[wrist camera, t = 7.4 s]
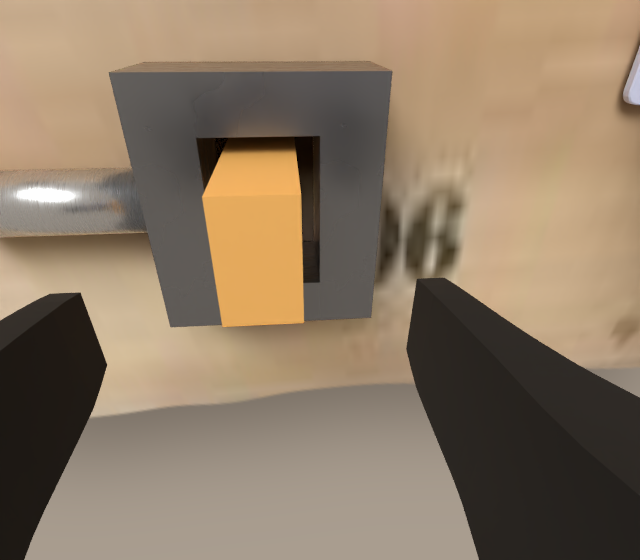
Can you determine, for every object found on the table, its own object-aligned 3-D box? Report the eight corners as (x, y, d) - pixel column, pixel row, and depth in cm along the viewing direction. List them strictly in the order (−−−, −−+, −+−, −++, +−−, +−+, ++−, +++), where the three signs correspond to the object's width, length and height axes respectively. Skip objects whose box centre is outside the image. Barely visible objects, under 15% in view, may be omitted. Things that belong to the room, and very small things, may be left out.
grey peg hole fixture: (370, 61, 15) (392, 71, 12) (357, 273, 20) (370, 317, 17) (-101, 62, 14) (-205, 73, 11) (7, 287, 19) (-45, 337, 16)
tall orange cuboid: (293, 131, 16) (300, 194, 10) (296, 225, 18) (303, 322, 12) (230, 131, 16) (201, 197, 10) (241, 227, 18) (222, 326, 12)
